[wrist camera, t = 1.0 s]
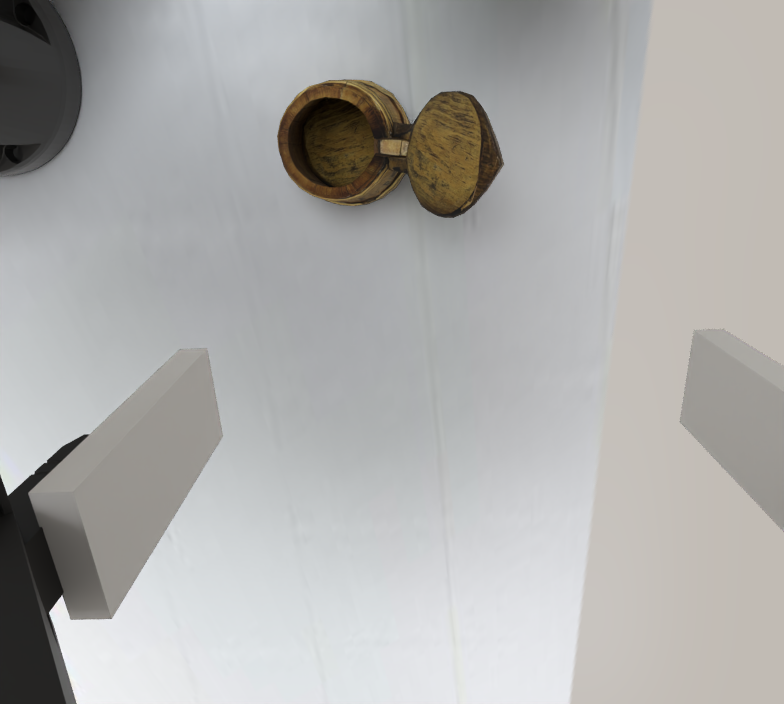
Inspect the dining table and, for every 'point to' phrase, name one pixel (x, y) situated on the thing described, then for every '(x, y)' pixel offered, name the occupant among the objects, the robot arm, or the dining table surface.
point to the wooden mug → (388, 146)
